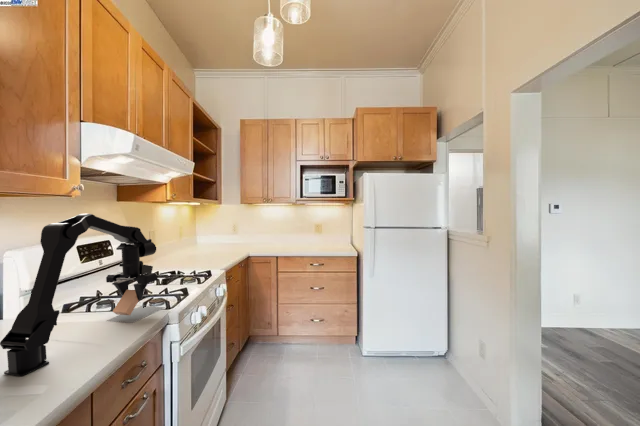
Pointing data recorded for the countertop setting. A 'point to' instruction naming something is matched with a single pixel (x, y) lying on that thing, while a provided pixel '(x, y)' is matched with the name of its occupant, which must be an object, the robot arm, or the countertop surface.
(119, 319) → the mat
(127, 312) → the tan flat block
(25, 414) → the countertop surface
